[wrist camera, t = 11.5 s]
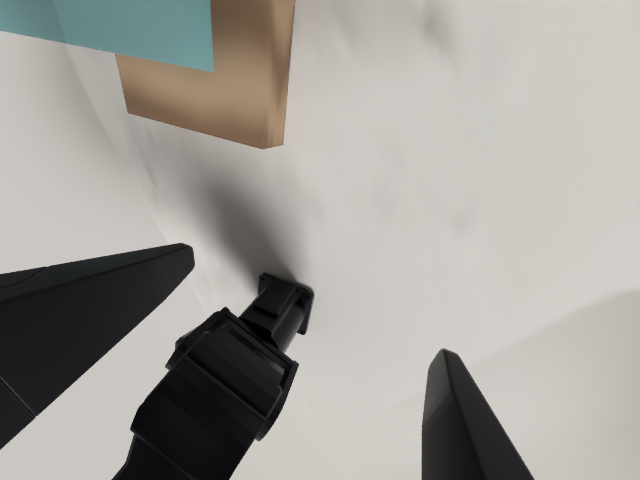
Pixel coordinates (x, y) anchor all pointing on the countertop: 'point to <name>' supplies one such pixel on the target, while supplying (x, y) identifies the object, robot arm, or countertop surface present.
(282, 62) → the wooden board
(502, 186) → the countertop surface
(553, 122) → the countertop surface
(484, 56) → the countertop surface
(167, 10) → the teal block
